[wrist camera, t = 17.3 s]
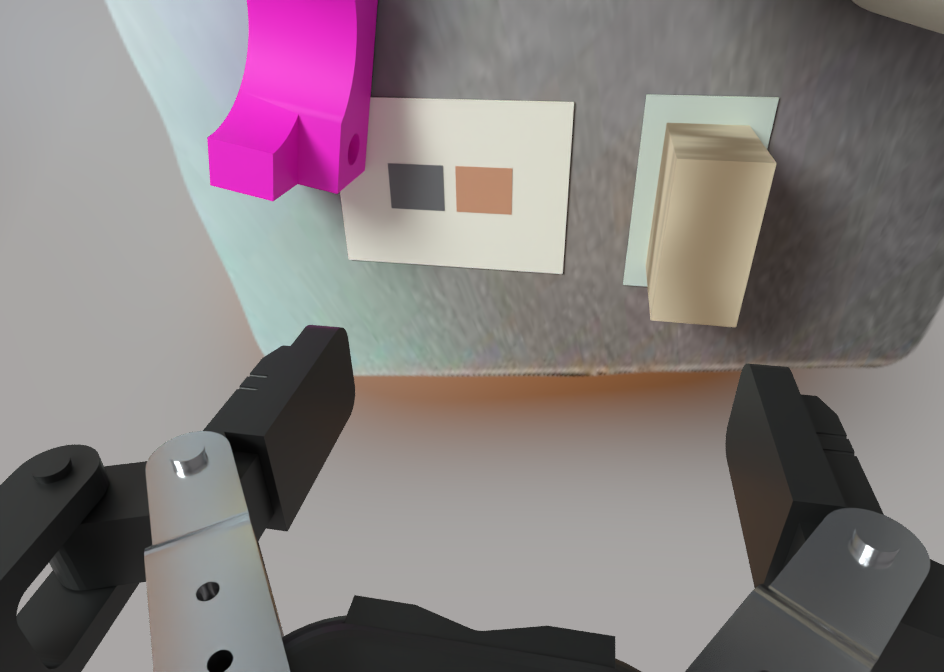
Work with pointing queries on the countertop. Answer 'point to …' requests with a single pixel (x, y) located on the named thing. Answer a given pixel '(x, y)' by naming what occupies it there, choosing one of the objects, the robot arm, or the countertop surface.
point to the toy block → (299, 99)
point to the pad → (652, 139)
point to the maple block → (706, 222)
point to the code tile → (462, 184)
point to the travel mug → (909, 11)
